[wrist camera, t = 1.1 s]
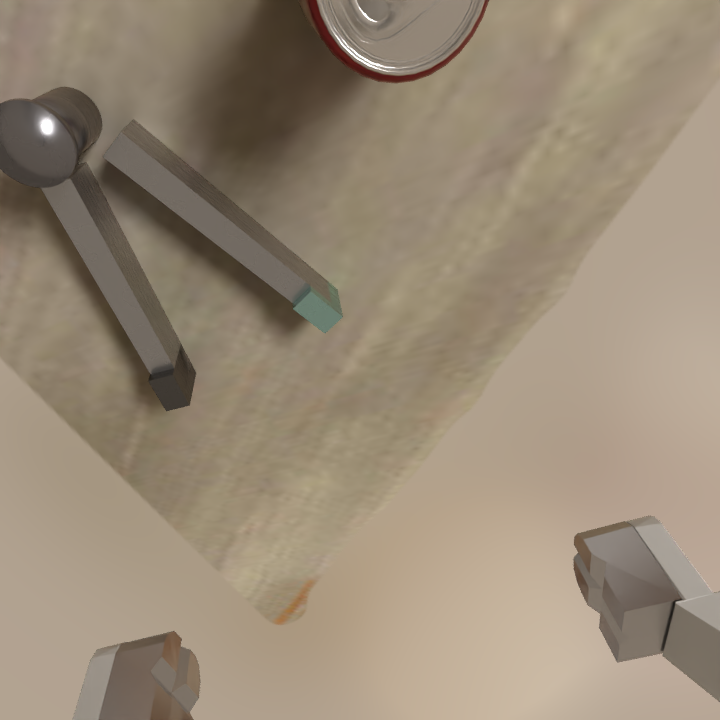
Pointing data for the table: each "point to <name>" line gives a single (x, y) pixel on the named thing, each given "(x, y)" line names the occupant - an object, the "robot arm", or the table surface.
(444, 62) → the soda can
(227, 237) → the bar
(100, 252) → the tongs base
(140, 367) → the table surface
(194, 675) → the robot arm
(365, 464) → the table surface
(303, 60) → the table surface
